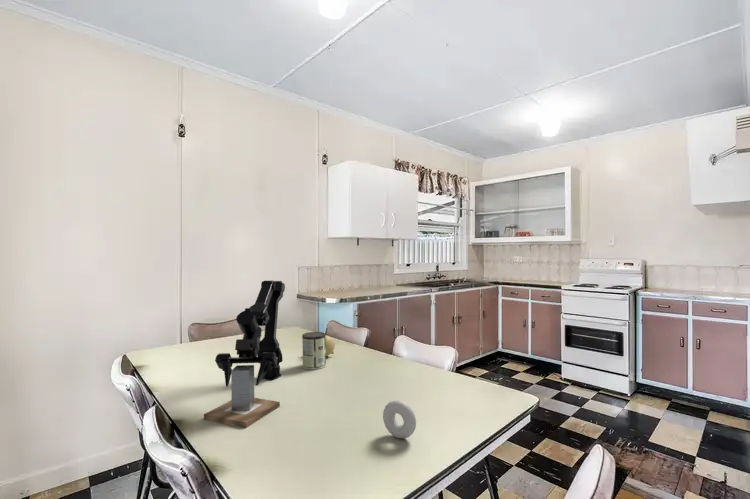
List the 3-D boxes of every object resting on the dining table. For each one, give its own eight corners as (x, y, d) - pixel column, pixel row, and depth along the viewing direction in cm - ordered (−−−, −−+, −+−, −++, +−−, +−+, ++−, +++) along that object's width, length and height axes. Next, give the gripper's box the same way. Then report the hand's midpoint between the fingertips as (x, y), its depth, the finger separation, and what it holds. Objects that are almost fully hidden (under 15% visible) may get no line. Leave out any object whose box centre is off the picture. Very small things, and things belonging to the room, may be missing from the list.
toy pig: (323, 352, 190) (323, 331, 191) (338, 356, 182) (338, 334, 182) (307, 356, 184) (307, 334, 184) (322, 361, 175) (322, 338, 175)
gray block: (237, 404, 122) (236, 365, 122) (254, 403, 122) (254, 365, 122) (231, 411, 116) (231, 370, 116) (249, 410, 117) (249, 370, 117)
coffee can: (309, 361, 174) (309, 331, 174) (329, 363, 170) (329, 332, 171) (297, 368, 164) (297, 336, 164) (319, 370, 161) (318, 337, 161)
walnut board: (203, 419, 115) (203, 413, 115) (240, 399, 130) (240, 395, 130) (246, 427, 109) (246, 422, 109) (279, 406, 124) (279, 401, 124)
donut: (380, 435, 104) (380, 398, 104) (387, 430, 107) (386, 394, 107) (412, 445, 98) (412, 407, 98) (418, 440, 101) (418, 402, 101)
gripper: (216, 328, 123) (203, 373, 112) (275, 327, 124) (267, 372, 113) (225, 346, 131) (213, 390, 120) (279, 345, 132) (273, 388, 121)
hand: (241, 385), depth 118 cm, fingers open, 9 cm apart
